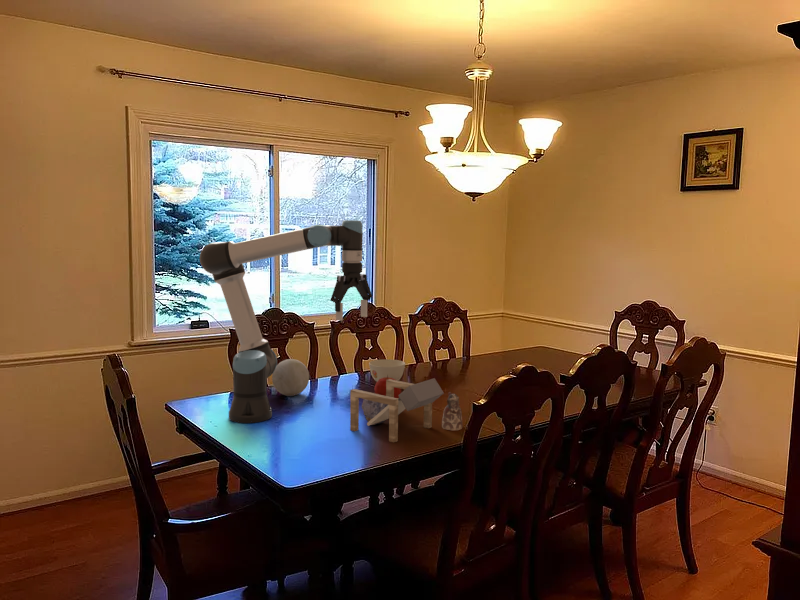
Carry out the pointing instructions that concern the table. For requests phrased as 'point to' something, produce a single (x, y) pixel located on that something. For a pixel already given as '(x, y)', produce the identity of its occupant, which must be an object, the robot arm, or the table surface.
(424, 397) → the trapdoor
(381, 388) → the apple
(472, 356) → the table surface
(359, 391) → the frame
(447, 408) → the figurine
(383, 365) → the bowl
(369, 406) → the rock
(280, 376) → the decorative sphere
